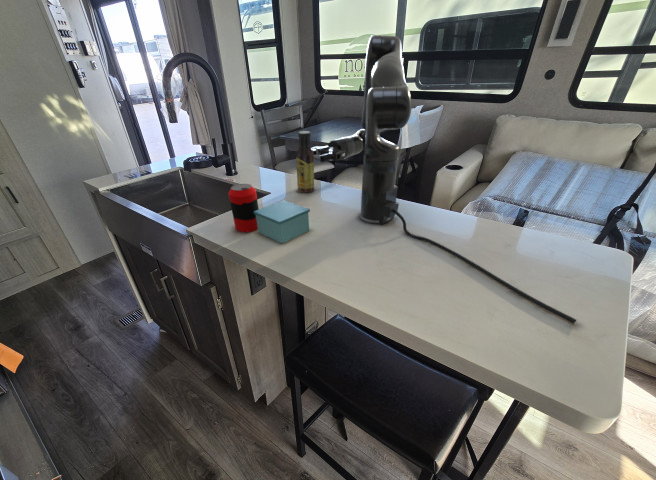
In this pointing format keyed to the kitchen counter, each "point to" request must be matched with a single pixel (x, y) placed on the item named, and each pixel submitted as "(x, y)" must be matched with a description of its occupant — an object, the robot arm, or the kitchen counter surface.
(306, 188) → the sauce bottle
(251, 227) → the soda can
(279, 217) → the storage box
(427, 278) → the kitchen counter surface
